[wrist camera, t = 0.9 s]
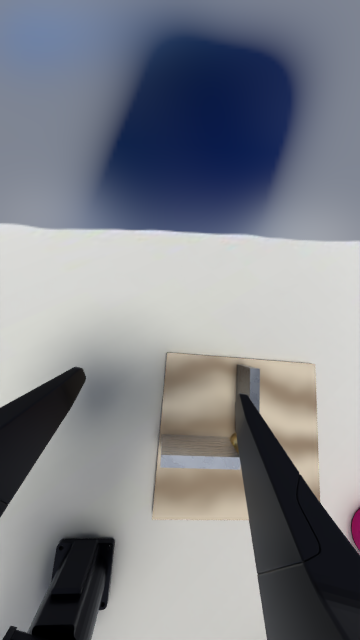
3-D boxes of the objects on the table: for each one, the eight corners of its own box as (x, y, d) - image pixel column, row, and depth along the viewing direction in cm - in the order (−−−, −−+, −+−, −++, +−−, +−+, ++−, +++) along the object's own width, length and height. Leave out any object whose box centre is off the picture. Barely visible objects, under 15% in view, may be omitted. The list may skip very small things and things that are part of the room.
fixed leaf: (246, 432, 22) (266, 455, 18) (246, 452, 22) (266, 480, 18) (162, 429, 21) (161, 451, 17) (160, 449, 21) (159, 477, 17)
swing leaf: (246, 452, 22) (263, 475, 18) (230, 452, 22) (243, 474, 18) (248, 364, 23) (264, 369, 20) (233, 363, 23) (246, 367, 19)
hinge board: (313, 512, 23) (320, 520, 22) (152, 511, 21) (152, 519, 20) (309, 363, 25) (315, 364, 24) (167, 352, 24) (167, 352, 23)
